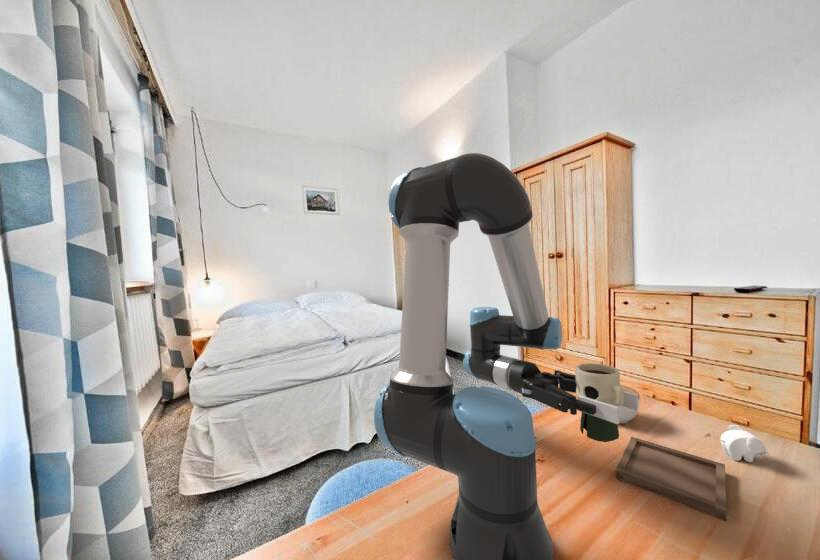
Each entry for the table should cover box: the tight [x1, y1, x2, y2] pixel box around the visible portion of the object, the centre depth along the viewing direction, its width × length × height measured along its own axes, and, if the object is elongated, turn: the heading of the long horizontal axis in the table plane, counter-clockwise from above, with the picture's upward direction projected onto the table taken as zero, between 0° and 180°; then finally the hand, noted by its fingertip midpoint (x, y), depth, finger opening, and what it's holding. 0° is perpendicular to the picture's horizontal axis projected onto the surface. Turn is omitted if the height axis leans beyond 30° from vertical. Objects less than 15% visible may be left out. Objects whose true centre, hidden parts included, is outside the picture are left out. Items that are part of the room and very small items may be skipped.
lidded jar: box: [618, 383, 640, 424], centre depth 81 cm, size 11×11×9 cm
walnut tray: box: [615, 436, 727, 522], centre depth 59 cm, size 15×15×2 cm
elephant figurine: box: [716, 424, 769, 463], centre depth 63 cm, size 7×8×6 cm
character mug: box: [574, 362, 624, 443], centre depth 57 cm, size 11×7×13 cm, turn 10°
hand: (628, 408), depth 52 cm, fingers closed on character mug, 7 cm apart
